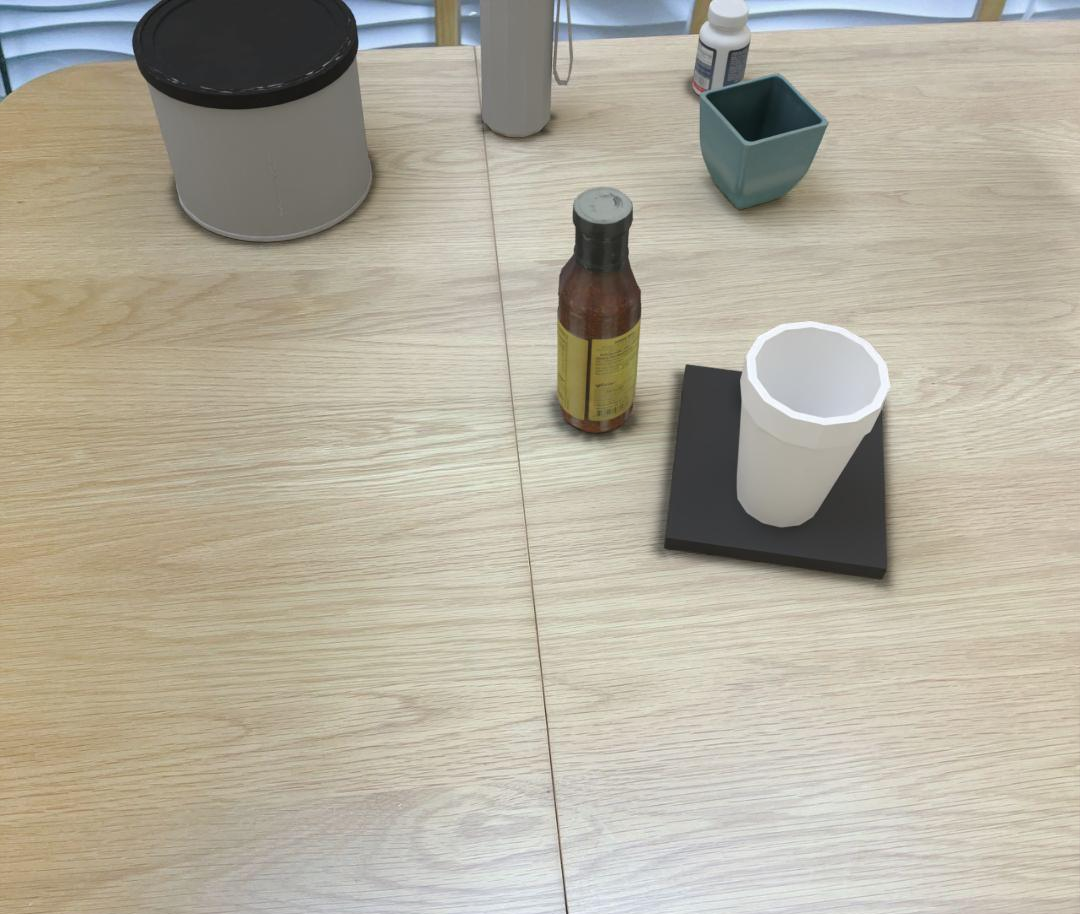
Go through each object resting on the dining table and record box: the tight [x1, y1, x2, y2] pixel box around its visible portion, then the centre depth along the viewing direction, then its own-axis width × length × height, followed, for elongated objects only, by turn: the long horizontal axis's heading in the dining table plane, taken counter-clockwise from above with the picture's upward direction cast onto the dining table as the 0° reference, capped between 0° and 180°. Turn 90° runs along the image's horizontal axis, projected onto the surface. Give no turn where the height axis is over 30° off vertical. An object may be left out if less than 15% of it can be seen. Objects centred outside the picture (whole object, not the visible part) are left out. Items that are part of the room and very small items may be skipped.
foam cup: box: [737, 320, 891, 527], centre depth 77 cm, size 10×9×13 cm
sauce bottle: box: [556, 186, 642, 434], centre depth 81 cm, size 6×6×20 cm
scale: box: [663, 363, 888, 580], centre depth 84 cm, size 16×19×3 cm
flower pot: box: [699, 72, 829, 210], centre depth 102 cm, size 9×9×9 cm
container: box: [131, 0, 373, 243], centre depth 99 cm, size 19×19×15 cm
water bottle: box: [479, 0, 574, 138], centre depth 102 cm, size 9×8×25 cm
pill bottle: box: [692, 0, 752, 96], centre depth 113 cm, size 5×5×9 cm
